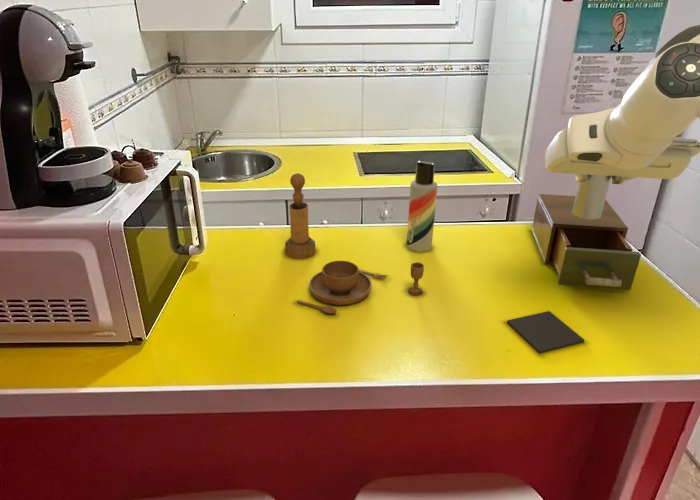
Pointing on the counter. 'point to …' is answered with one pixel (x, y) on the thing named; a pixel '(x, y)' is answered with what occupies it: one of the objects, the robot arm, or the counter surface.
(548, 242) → the cabinet
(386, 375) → the counter surface
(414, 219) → the lotion bottle
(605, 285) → the drawer
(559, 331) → the mat
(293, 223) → the mortar and pestle
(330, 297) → the place setting
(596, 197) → the spice jar
